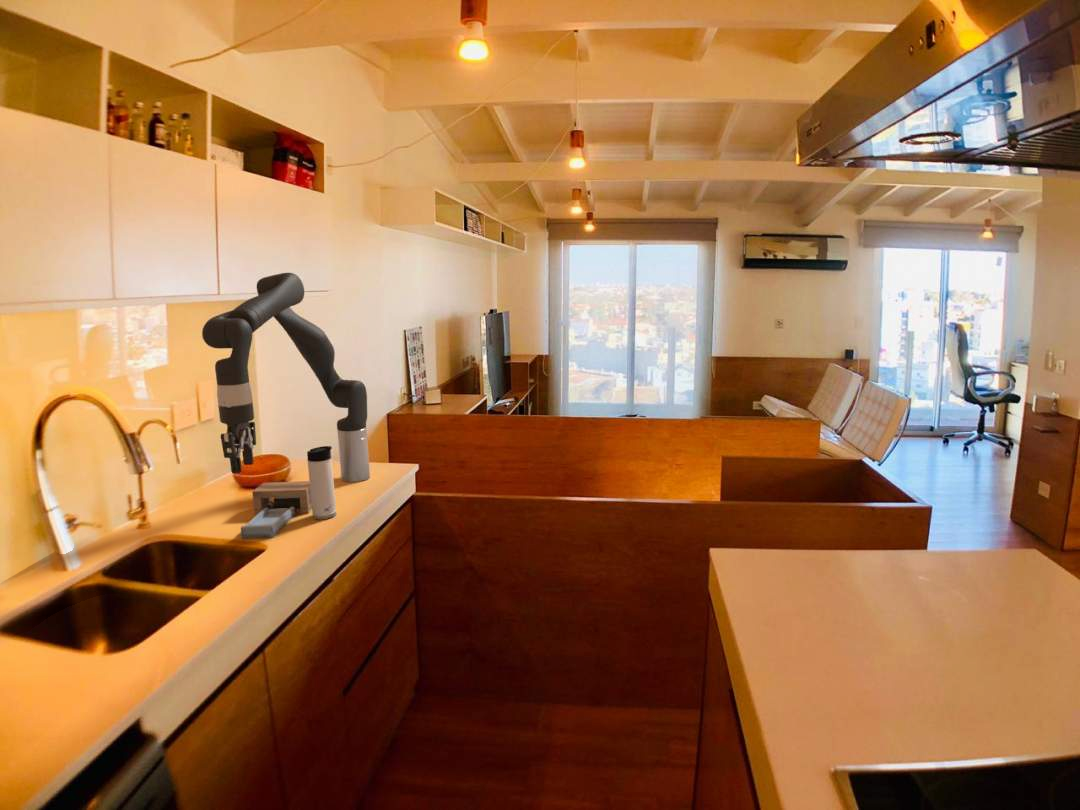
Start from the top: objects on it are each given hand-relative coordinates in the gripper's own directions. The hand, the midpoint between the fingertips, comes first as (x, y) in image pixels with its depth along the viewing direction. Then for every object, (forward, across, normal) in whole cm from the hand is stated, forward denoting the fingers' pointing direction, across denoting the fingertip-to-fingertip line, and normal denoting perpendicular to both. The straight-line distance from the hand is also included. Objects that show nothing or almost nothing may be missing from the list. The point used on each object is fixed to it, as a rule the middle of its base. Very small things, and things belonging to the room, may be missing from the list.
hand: (242, 468), depth 155 cm
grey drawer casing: (+20, -25, 0) cm, 32 cm away
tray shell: (+20, -12, 0) cm, 23 cm away
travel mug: (+20, -18, +13) cm, 30 cm away
